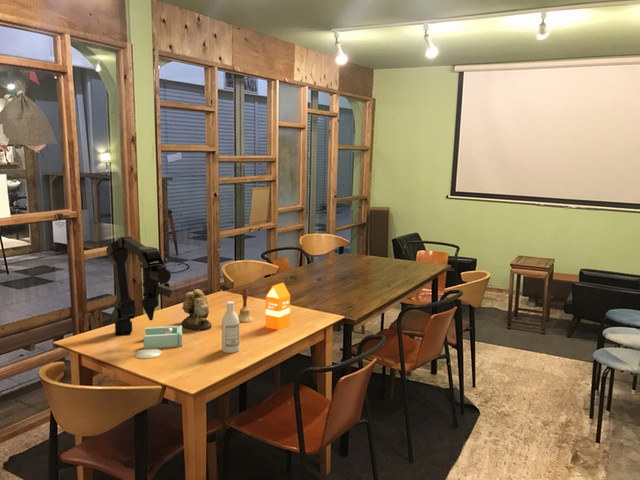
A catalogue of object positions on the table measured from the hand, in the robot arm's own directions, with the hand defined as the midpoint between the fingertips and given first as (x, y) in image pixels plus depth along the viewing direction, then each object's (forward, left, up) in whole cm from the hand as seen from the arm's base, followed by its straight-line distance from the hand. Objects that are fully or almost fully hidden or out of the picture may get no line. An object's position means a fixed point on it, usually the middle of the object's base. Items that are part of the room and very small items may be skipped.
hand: (151, 317), depth 214 cm
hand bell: (+41, +28, -13) cm, 51 cm away
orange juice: (+55, +16, -13) cm, 58 cm away
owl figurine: (+18, +24, -13) cm, 32 cm away
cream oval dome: (-1, -9, -12) cm, 15 cm away
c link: (+4, +3, -12) cm, 13 cm away
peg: (+6, +5, -12) cm, 15 cm away
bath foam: (+31, -11, -13) cm, 35 cm away
